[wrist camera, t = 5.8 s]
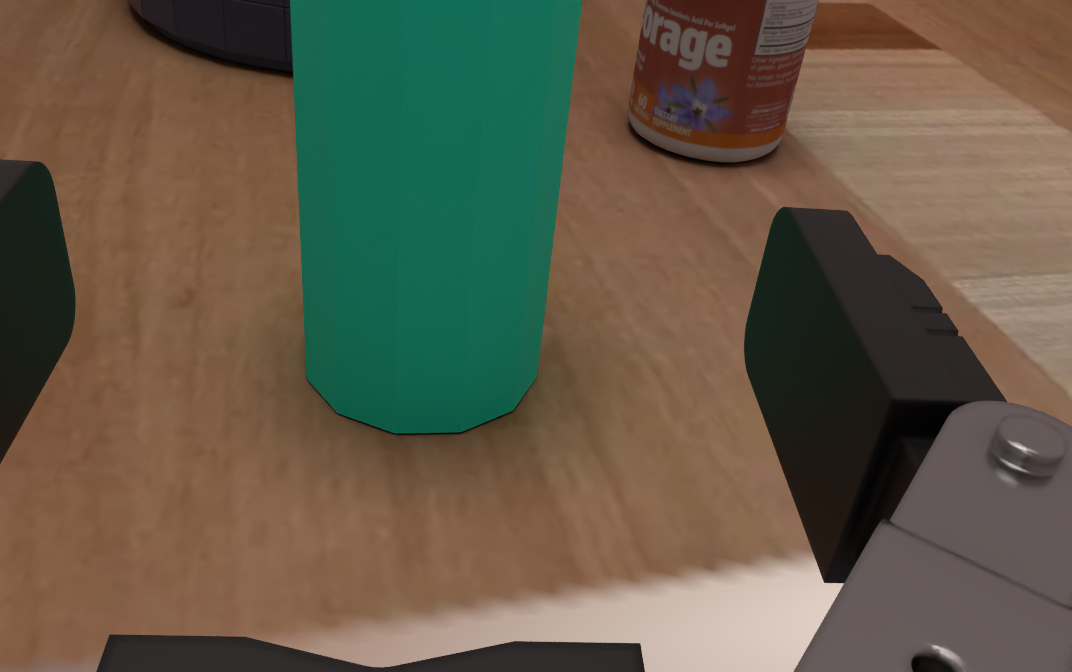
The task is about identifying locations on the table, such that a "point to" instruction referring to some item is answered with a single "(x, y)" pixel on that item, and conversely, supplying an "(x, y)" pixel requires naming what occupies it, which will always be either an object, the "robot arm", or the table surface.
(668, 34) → the pill bottle
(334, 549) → the table surface
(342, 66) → the candle
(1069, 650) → the robot arm
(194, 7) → the bowl
